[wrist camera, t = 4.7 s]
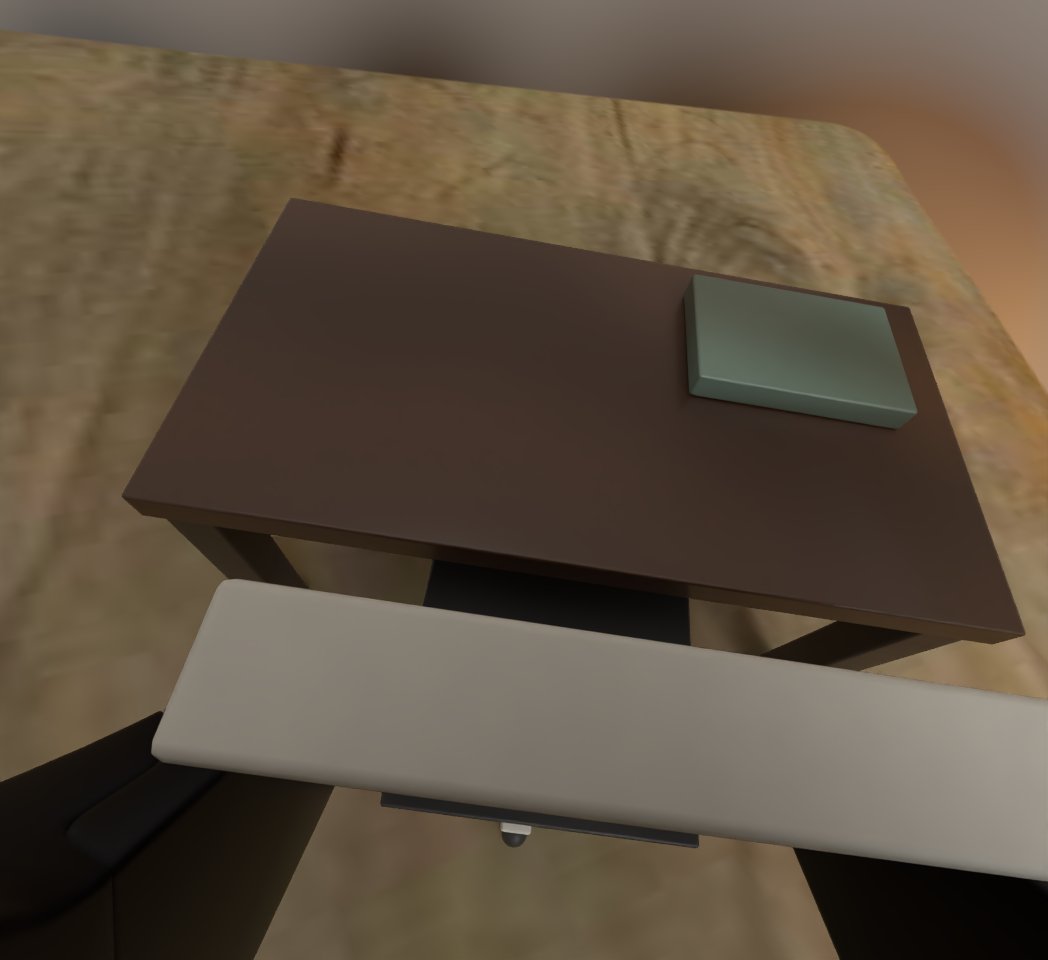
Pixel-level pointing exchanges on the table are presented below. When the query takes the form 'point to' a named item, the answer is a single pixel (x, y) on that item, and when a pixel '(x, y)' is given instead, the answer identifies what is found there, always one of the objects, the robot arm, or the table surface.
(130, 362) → the table surface
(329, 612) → the white black boxy frame
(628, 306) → the desk
